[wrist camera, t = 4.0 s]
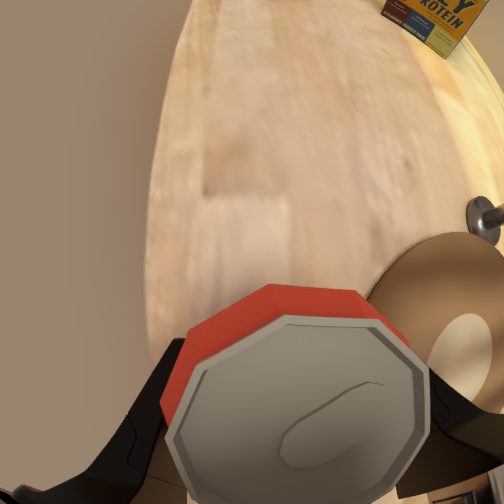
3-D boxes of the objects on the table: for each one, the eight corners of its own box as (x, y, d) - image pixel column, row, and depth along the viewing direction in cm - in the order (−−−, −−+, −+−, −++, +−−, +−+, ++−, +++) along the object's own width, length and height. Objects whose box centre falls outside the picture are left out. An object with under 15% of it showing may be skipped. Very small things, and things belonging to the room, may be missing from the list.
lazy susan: (520, 389, 14) (526, 390, 13) (367, 509, 13) (370, 515, 12) (489, 205, 17) (495, 203, 16) (295, 297, 16) (298, 297, 15)
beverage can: (336, 356, 16) (472, 435, 4) (246, 408, 15) (247, 563, 3) (287, 272, 16) (380, 213, 4) (194, 326, 16) (79, 387, 4)
